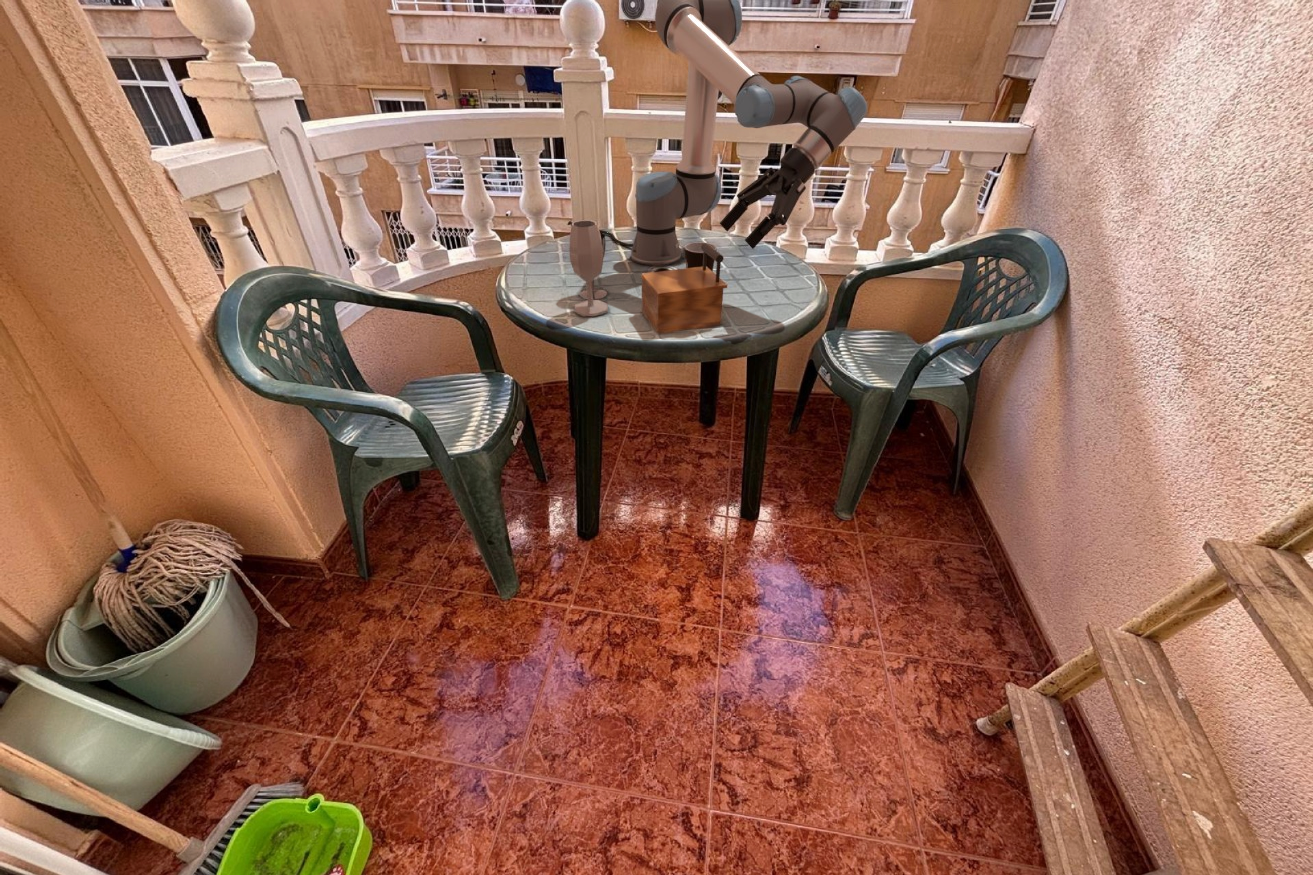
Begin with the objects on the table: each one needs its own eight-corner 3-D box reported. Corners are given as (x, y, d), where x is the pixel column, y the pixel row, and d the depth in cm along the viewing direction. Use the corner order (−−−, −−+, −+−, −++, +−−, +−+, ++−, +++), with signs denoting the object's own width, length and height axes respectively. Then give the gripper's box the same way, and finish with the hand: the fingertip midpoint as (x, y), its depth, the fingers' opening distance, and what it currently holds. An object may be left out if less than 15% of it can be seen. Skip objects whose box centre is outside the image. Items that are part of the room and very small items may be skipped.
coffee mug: (709, 291, 143) (711, 254, 137) (679, 287, 145) (680, 250, 139) (720, 276, 152) (723, 241, 146) (691, 272, 154) (693, 237, 148)
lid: (705, 269, 131) (707, 240, 127) (727, 288, 122) (729, 257, 117) (641, 276, 127) (640, 247, 123) (658, 297, 118) (658, 265, 113)
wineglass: (579, 320, 129) (571, 231, 116) (569, 306, 135) (560, 220, 122) (613, 314, 132) (608, 226, 119) (601, 300, 138) (596, 216, 125)
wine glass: (584, 302, 137) (579, 243, 128) (574, 291, 143) (568, 234, 134) (613, 296, 140) (610, 238, 131) (601, 286, 146) (597, 230, 137)
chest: (700, 303, 137) (702, 269, 131) (720, 324, 127) (723, 288, 122) (642, 311, 133) (641, 277, 127) (658, 333, 123) (658, 297, 118)
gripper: (845, 183, 109) (770, 263, 115) (784, 161, 128) (723, 231, 133) (827, 156, 105) (750, 241, 110) (767, 137, 123) (704, 210, 129)
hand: (735, 235), depth 122 cm, fingers open, 13 cm apart
